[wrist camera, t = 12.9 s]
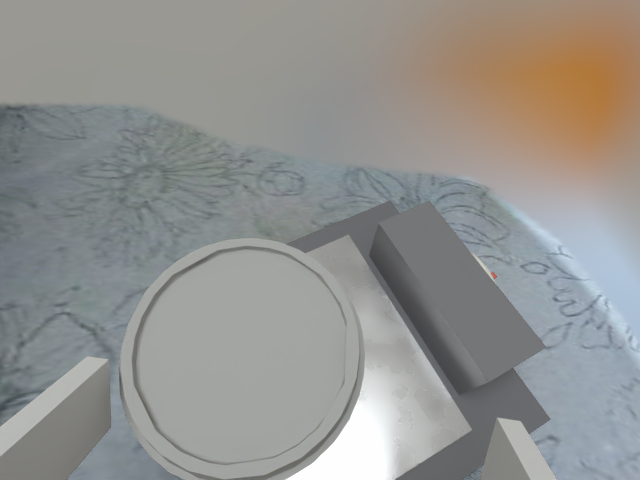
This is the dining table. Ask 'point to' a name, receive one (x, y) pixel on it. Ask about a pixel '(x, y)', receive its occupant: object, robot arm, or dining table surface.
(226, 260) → the disposable coffee cup
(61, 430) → the robot arm
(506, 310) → the kitchen scale
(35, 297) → the dining table surface
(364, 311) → the scale pan
